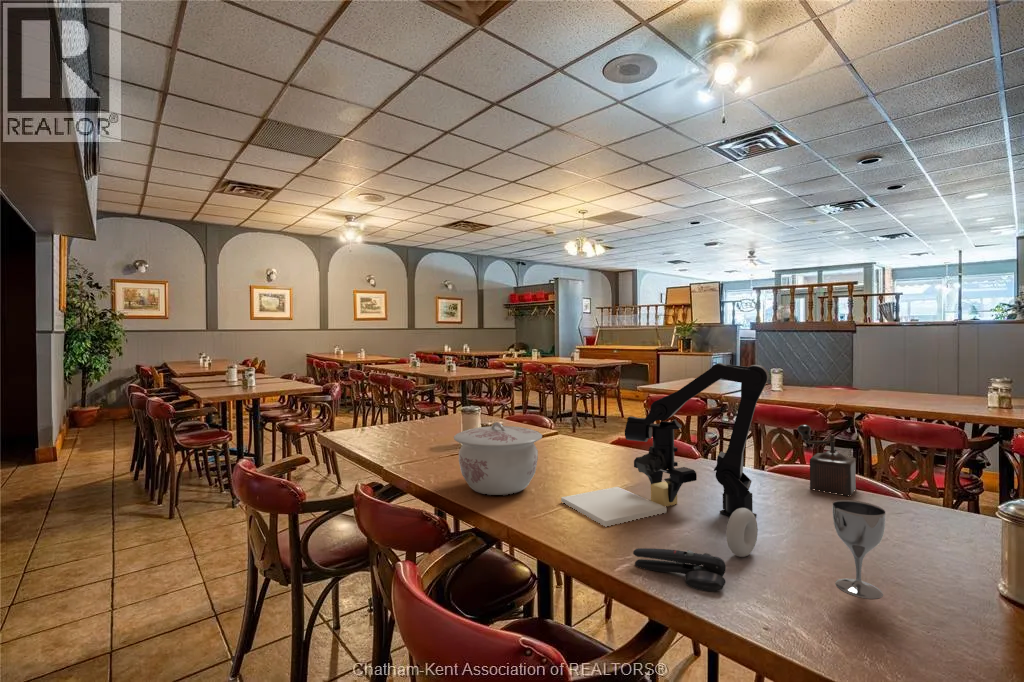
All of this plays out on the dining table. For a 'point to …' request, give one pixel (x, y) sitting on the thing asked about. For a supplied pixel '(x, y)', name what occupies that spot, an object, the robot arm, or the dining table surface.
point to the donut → (742, 532)
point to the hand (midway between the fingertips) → (663, 499)
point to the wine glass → (859, 540)
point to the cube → (661, 494)
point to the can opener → (685, 566)
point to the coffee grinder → (830, 468)
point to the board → (613, 506)
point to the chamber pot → (498, 458)
